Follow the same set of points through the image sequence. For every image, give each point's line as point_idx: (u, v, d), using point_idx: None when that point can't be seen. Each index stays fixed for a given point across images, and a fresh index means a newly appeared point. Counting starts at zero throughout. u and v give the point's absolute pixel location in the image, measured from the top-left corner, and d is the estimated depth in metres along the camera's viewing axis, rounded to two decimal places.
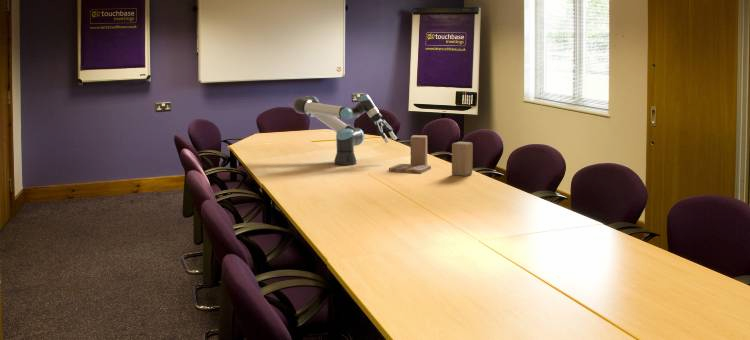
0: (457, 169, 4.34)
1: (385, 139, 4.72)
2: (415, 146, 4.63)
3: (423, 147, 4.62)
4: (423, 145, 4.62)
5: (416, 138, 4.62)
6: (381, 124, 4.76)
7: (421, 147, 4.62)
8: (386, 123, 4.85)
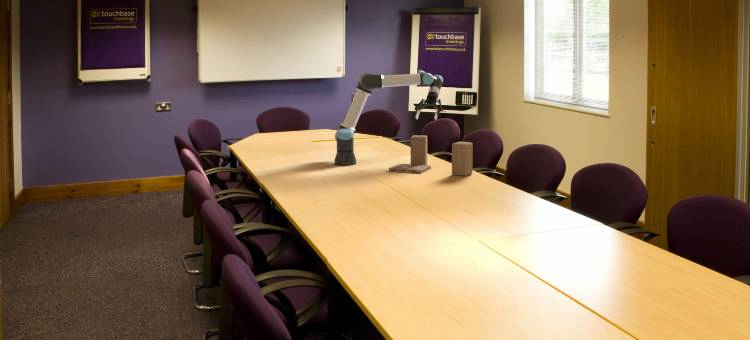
0: (457, 169, 4.34)
1: (436, 115, 4.74)
2: (415, 146, 4.63)
3: (423, 147, 4.62)
4: (423, 145, 4.62)
5: (416, 138, 4.62)
6: None
7: (421, 147, 4.62)
8: None
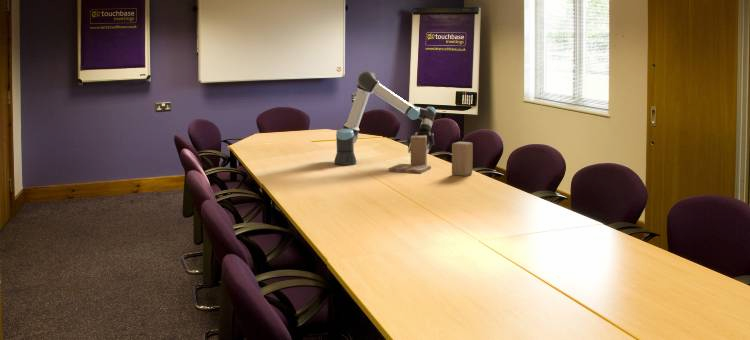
0: (457, 169, 4.34)
1: (428, 150, 4.64)
2: (415, 147, 4.62)
3: (423, 147, 4.62)
4: (423, 145, 4.61)
5: (416, 138, 4.61)
6: None
7: (421, 147, 4.62)
8: None
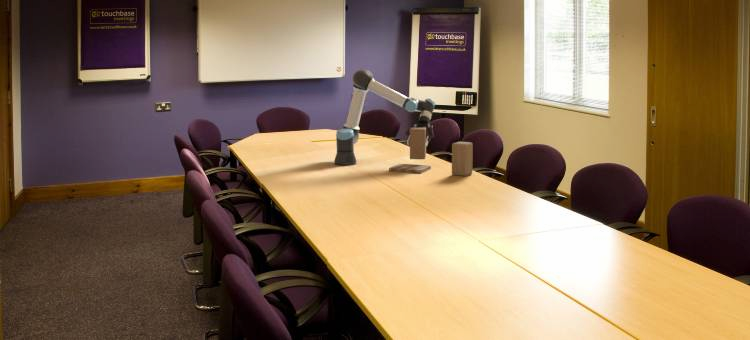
0: (457, 169, 4.34)
1: (427, 142, 4.61)
2: (414, 139, 4.59)
3: (423, 139, 4.58)
4: (423, 137, 4.58)
5: (415, 130, 4.58)
6: None
7: (421, 139, 4.58)
8: None
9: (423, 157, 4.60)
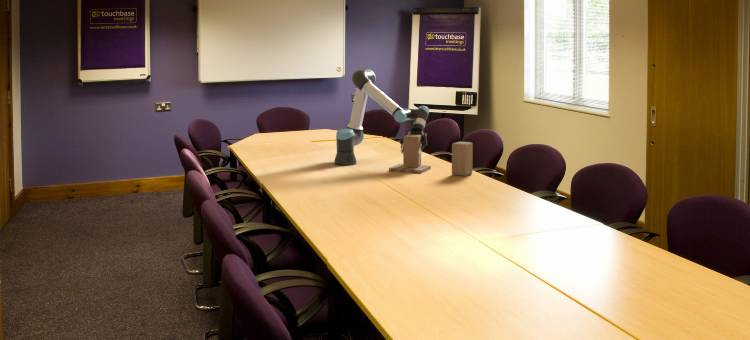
0: (457, 169, 4.34)
1: (420, 150, 4.51)
2: (408, 146, 4.51)
3: (416, 147, 4.50)
4: (416, 145, 4.50)
5: (409, 137, 4.50)
6: None
7: (414, 147, 4.50)
8: None
9: (416, 165, 4.52)
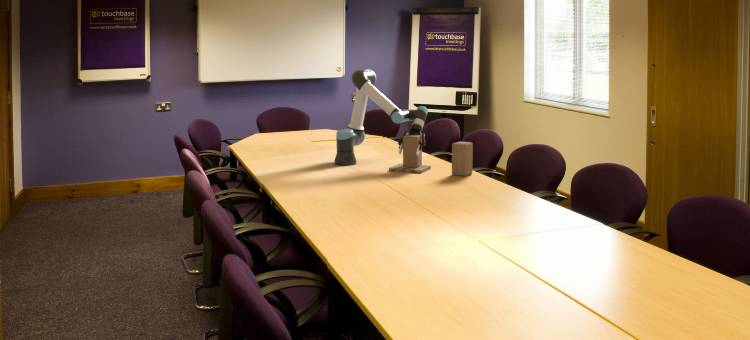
0: (457, 169, 4.34)
1: (418, 151, 4.49)
2: (407, 146, 4.51)
3: (415, 147, 4.49)
4: (415, 145, 4.49)
5: (408, 137, 4.50)
6: None
7: (413, 147, 4.50)
8: None
9: (416, 165, 4.51)
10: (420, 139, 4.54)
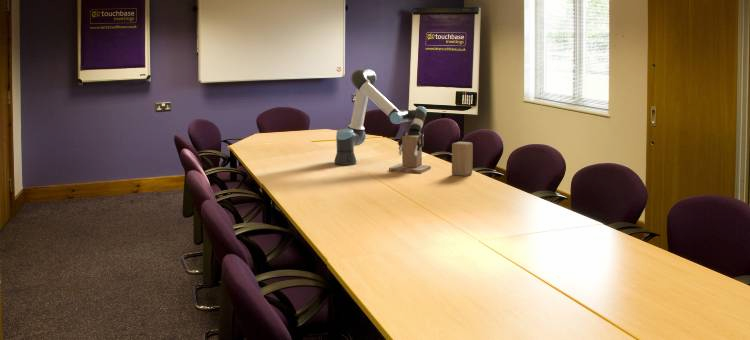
0: (457, 169, 4.34)
1: (416, 151, 4.47)
2: (406, 146, 4.51)
3: (414, 147, 4.49)
4: (414, 145, 4.49)
5: (407, 137, 4.50)
6: None
7: (412, 147, 4.50)
8: None
9: (415, 165, 4.51)
10: (419, 139, 4.54)
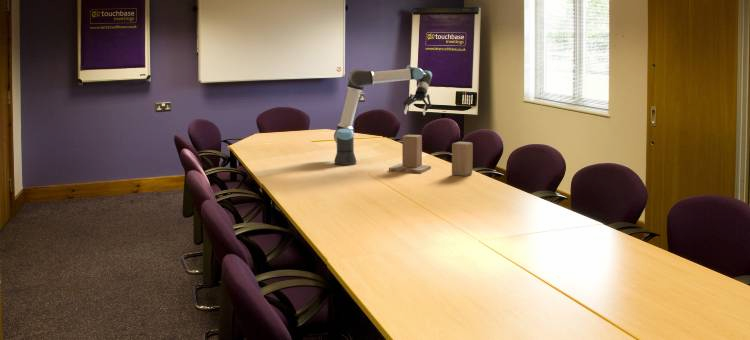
0: (457, 169, 4.34)
1: (424, 111, 4.75)
2: (406, 146, 4.51)
3: (414, 147, 4.49)
4: (414, 145, 4.49)
5: (407, 137, 4.50)
6: None
7: (412, 147, 4.50)
8: None
9: (415, 165, 4.51)
10: (420, 139, 4.54)
